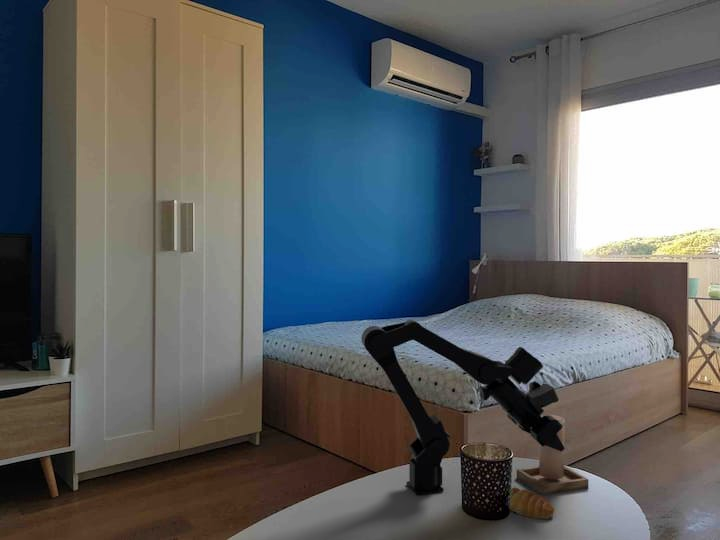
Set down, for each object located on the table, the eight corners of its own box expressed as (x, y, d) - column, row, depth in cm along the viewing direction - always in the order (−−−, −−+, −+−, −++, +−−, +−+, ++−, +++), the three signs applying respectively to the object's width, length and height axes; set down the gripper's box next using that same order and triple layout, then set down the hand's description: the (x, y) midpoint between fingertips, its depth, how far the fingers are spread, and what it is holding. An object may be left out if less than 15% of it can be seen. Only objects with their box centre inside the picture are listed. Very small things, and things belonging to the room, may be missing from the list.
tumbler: (554, 481, 125) (555, 423, 125) (533, 473, 130) (534, 417, 130) (569, 475, 129) (569, 419, 128) (548, 468, 133) (549, 413, 133)
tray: (542, 494, 123) (542, 485, 123) (516, 477, 132) (516, 469, 132) (588, 488, 126) (588, 479, 126) (559, 471, 136) (560, 463, 136)
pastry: (559, 513, 114) (559, 494, 114) (545, 525, 109) (545, 506, 109) (516, 499, 121) (516, 482, 121) (501, 510, 116) (501, 492, 116)
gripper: (553, 382, 119) (602, 433, 120) (520, 365, 138) (563, 409, 139) (517, 420, 118) (566, 470, 120) (488, 398, 137) (531, 442, 138)
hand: (557, 445), depth 129 cm, fingers closed on tumbler, 5 cm apart
